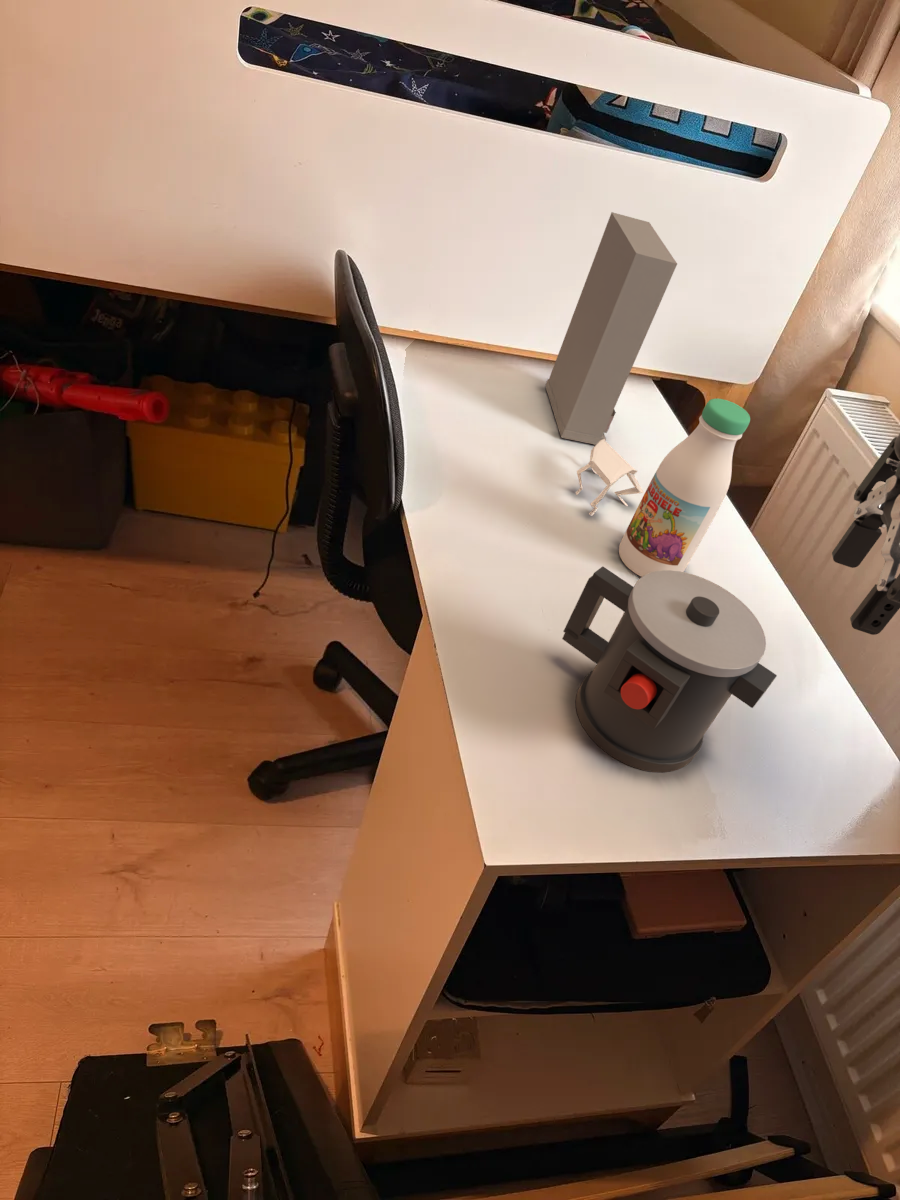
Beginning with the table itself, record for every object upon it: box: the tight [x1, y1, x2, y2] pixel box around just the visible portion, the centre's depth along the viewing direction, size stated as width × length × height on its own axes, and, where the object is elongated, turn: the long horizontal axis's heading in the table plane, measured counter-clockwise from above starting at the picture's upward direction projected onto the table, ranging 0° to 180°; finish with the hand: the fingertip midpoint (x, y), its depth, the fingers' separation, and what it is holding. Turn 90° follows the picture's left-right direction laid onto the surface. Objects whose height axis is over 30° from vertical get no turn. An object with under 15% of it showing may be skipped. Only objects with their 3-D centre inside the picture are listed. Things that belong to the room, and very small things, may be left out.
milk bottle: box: [618, 398, 751, 578], centre depth 95 cm, size 8×8×20 cm
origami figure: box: [575, 439, 645, 517], centre depth 109 cm, size 12×8×5 cm
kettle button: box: [621, 674, 657, 709], centre depth 71 cm, size 2×2×2 cm
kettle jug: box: [561, 566, 777, 773], centre depth 77 cm, size 13×17×14 cm
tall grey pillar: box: [544, 211, 678, 446], centre depth 115 cm, size 14×6×25 cm, turn 4°
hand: (851, 593), depth 69 cm, fingers open, 8 cm apart
